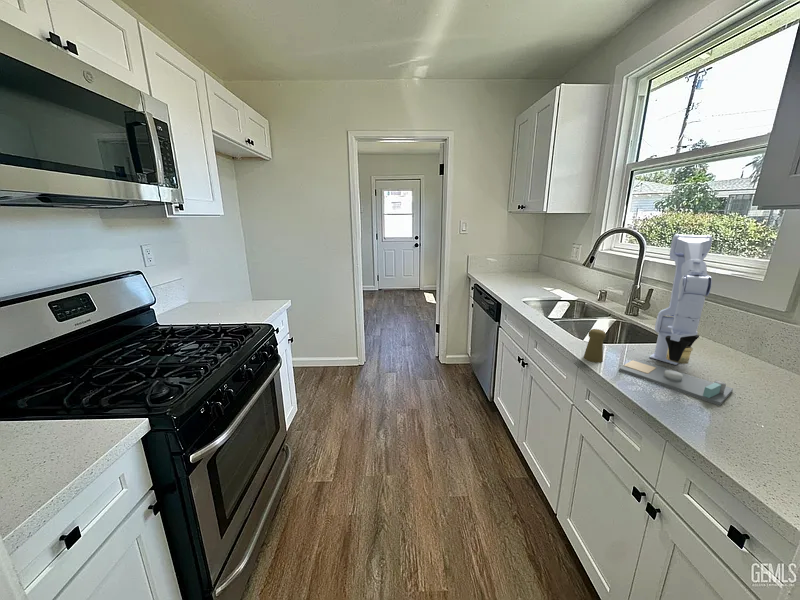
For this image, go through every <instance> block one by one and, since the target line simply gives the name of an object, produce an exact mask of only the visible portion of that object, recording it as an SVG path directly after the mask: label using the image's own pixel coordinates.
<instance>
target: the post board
mask: <svg viewBox="0 0 800 600" xmlns="http://www.w3.org/2000/svg"><path fill="white" fill-rule="evenodd" d="M618 371H619V372H620V373H625V374H627V375H629V376H630V375H631V376H633V377H636V378H639V379H642V380H644V381H647V382H649V383H653V384H656V385H659V386H661V387H664V388H668V389H670V390H673V391H676V392H679V393H682V394H685V395H688V396H690V397H694V398H697V399H699V400H702V401H705V402H708V403H711V404H714V405H717V406H721V405H722V404H723V403H724V402H725V401H726V399H727V398H728V397H729V396H730V395H731V394H732V393H733V390H734V388H732V387H729V386H726V387H725V390H724V393H719V394H717V395H715V396H713V397H710V398H707V397H705V396H703V393H704V389H705V387H706V386H709V385H711V384H713V383H714V381H709V380H706V379H703V378H701V377H696V376H694V375H690V374H686V373H684V372H681V371H677V370H674V369H671V368H668V367H664V366H661V365H658V364H654V363H651V362H648V361H644V360H642V359H638V358H634V359H633V360H630V361H629V362H627V363H625V364H623V365H622V366H620V367H619V369H618Z"/></svg>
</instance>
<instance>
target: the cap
mask: <svg viewBox="0 0 800 600" xmlns="http://www.w3.org/2000/svg"><path fill="white" fill-rule="evenodd" d="M693 349H694V348H693V347H692V346H691V347H690V346H687V347H686V348H685V350H684V351H683V353H682V356H681V358H680V360H679V361H678V362H676V361H673V360H670V359H669V348H668V351H667V355H666V359H668V360H670V361H672V362H676V363H678V364H683V365H688V364H689V361H690V357H691V354H692V352H693Z"/></svg>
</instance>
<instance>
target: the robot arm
mask: <svg viewBox="0 0 800 600" xmlns="http://www.w3.org/2000/svg"><path fill="white" fill-rule="evenodd" d="M672 236H673V237H672V239H671V244H670V250H669V259H670V260H672V261H674V263H675V271H674V277H673V281H672V287H671V294H670V300H669V306H668V307H665V308H664V309H661V310H659V312H657V317H656V320H655V325H654V331H655V332H656V334H657V333H658V334H657V340H656V345H655V349H654V353H652V354H651V355H649V358H651V359H654V360H657V361H661V362H664V363H667V364H671V365H673V366H674V365H675V366H677V365H678V364H679V363H676V362H678V361H679V360H680V358H681V356H682V353H683V351H684V350H685V348H686V347H687V346H690V347H692V346H693V344H694V343H695V342H696V340H698V339H699V338H700V335H699V334H698V328H699V325H700V321H701V316H702V312H703V308H704V305H705V300H706V297H708V296H709V294H710V292H711V290H712V287H713V286H712V284H713V281H712V276H711V275H710V274H708V268H707V263H706V262H705V261H704V259H705V258H706V257H707V256H708V253H709V252H710V251H711V247H712V244H713V237H712V236H711V234H707V235H706V234H705V235H702V234H701V235H700V234H679V233H675V234H674V235H672ZM668 348H669V359H670V360H673V361H676V362H672V361H670V360H668V359H666V355H667V351H668Z"/></svg>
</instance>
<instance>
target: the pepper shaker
mask: <svg viewBox="0 0 800 600" xmlns="http://www.w3.org/2000/svg"><path fill="white" fill-rule="evenodd" d="M606 336H607V334H606V331H604V330H603V329H600V328H599V329H597V328H593V329H590V330H589V332H588V337H589V340H588V343H587V345H586V349H585V351H584V355H583V359H584V360H585V361H586V362H587V361H588V362H590V363H597V364H599V363H602V362H603V361H604V360H603V359H604V340H605V339H606Z"/></svg>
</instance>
